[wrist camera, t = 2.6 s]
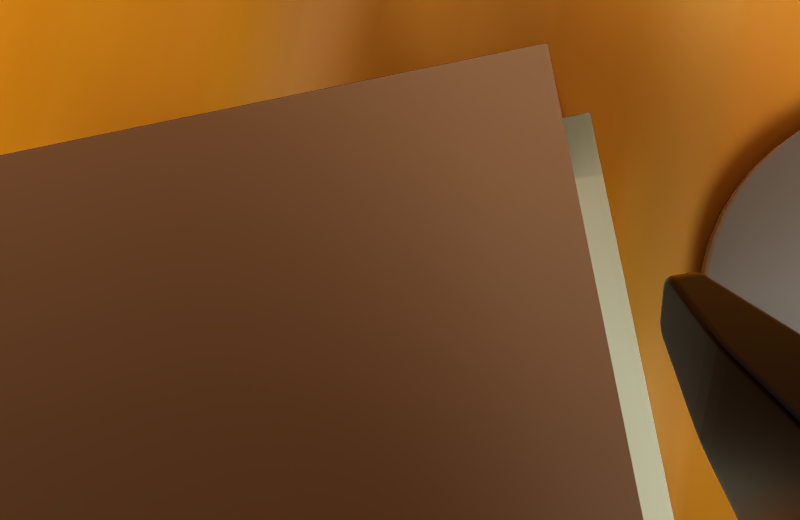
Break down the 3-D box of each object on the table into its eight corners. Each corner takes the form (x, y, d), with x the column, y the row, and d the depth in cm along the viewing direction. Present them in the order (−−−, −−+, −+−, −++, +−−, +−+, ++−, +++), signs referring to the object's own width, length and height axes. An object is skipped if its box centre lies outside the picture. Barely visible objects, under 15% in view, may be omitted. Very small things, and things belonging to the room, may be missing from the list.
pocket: (661, 563, 15) (691, 598, 13) (237, 616, 16) (204, 656, 14) (575, 136, 17) (589, 112, 15) (185, 211, 18) (149, 197, 16)
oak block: (519, 461, 15) (774, 1171, 3) (326, 489, 16) (-281, 1211, 3) (484, 264, 16) (547, 43, 3) (297, 297, 16) (-314, 220, 4)
